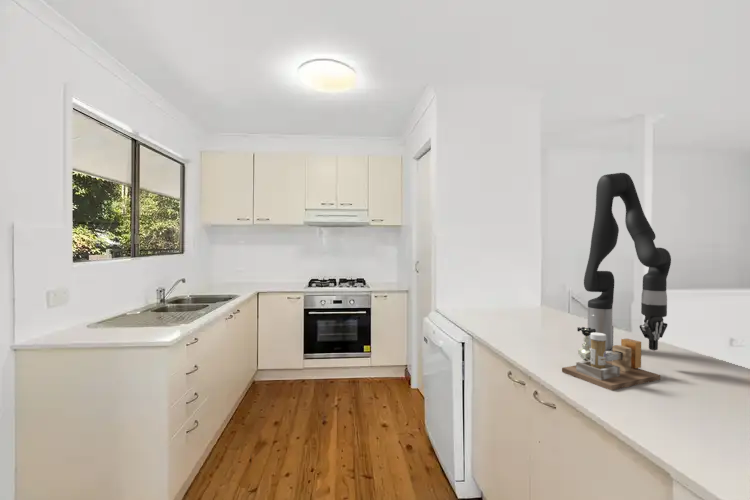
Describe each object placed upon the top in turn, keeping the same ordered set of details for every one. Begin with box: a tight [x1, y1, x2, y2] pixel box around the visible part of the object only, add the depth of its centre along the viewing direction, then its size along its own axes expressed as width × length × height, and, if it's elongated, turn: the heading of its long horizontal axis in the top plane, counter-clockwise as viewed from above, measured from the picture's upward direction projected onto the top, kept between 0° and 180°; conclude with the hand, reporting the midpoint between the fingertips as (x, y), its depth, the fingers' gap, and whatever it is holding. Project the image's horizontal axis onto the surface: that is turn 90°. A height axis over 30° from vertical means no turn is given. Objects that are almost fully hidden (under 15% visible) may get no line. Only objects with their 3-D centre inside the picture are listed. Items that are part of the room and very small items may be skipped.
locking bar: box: [606, 338, 642, 369], centre depth 131 cm, size 15×5×9 cm, turn 113°
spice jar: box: [590, 333, 607, 369], centre depth 127 cm, size 5×5×14 cm
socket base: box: [561, 344, 661, 391], centre depth 129 cm, size 24×18×9 cm
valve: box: [576, 326, 596, 361], centre depth 148 cm, size 7×7×12 cm
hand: (653, 349), depth 138 cm, fingers closed
